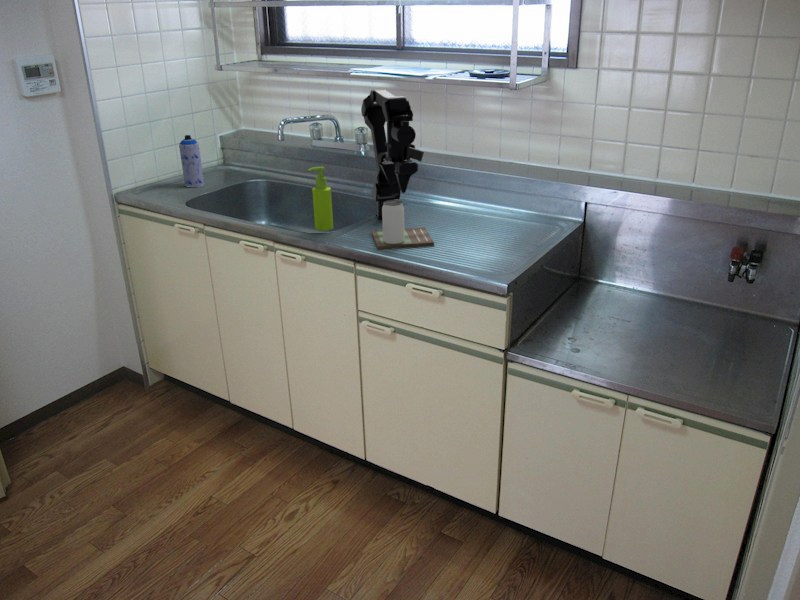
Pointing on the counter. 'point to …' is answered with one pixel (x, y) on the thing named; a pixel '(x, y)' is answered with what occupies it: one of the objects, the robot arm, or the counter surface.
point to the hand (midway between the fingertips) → (397, 189)
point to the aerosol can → (191, 162)
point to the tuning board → (405, 239)
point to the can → (393, 222)
